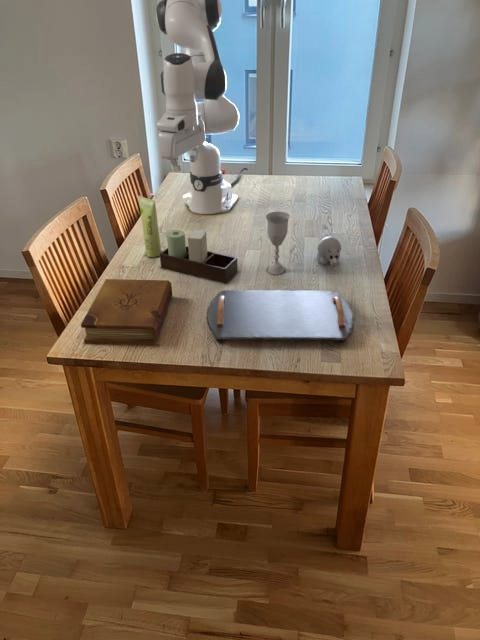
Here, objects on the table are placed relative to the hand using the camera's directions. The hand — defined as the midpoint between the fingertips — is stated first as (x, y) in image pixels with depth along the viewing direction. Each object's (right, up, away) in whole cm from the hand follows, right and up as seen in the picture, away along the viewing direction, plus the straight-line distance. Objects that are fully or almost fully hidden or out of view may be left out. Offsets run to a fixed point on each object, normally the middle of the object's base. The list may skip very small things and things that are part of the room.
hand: (185, 166), depth 157 cm
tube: (-12, -25, +16) cm, 32 cm away
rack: (+3, -30, +7) cm, 31 cm away
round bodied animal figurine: (+45, -29, +8) cm, 54 cm away
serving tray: (+27, -47, -17) cm, 56 cm away
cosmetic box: (+4, -31, +7) cm, 32 cm away
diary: (-13, -46, -15) cm, 50 cm away
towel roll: (-3, -29, +10) cm, 30 cm away
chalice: (+28, -31, +6) cm, 42 cm away
